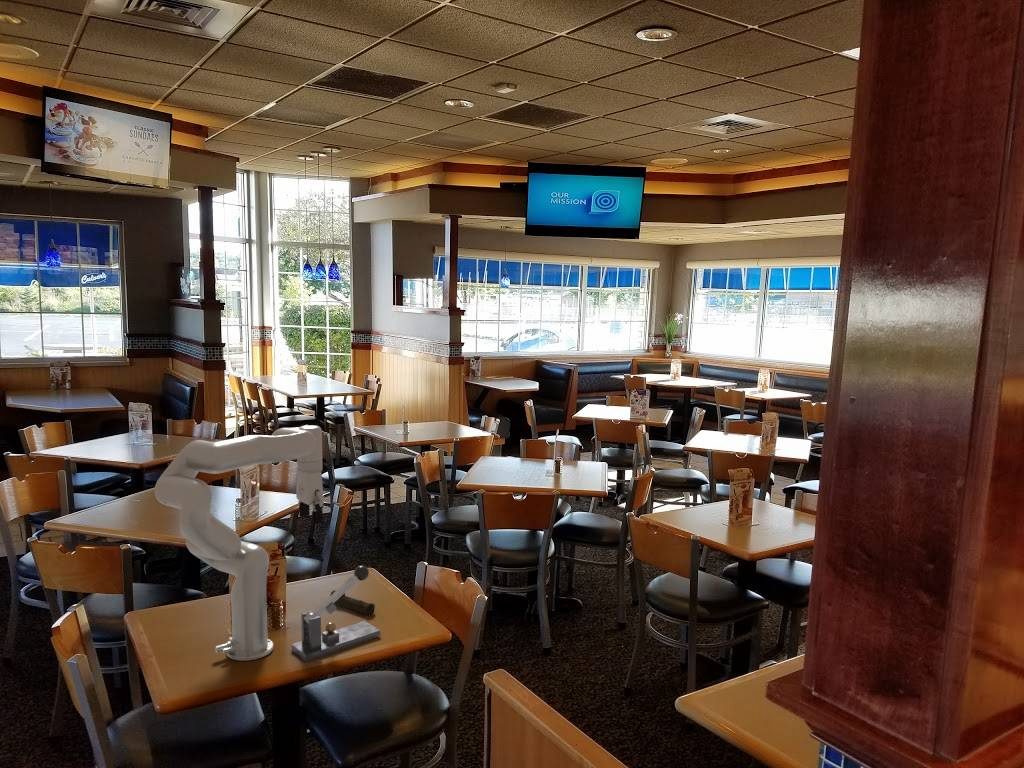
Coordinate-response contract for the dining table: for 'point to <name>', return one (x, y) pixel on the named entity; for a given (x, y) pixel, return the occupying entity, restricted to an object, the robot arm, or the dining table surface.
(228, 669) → the dining table surface
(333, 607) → the lever
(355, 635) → the nutcracker bench
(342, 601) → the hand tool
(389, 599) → the dining table surface
